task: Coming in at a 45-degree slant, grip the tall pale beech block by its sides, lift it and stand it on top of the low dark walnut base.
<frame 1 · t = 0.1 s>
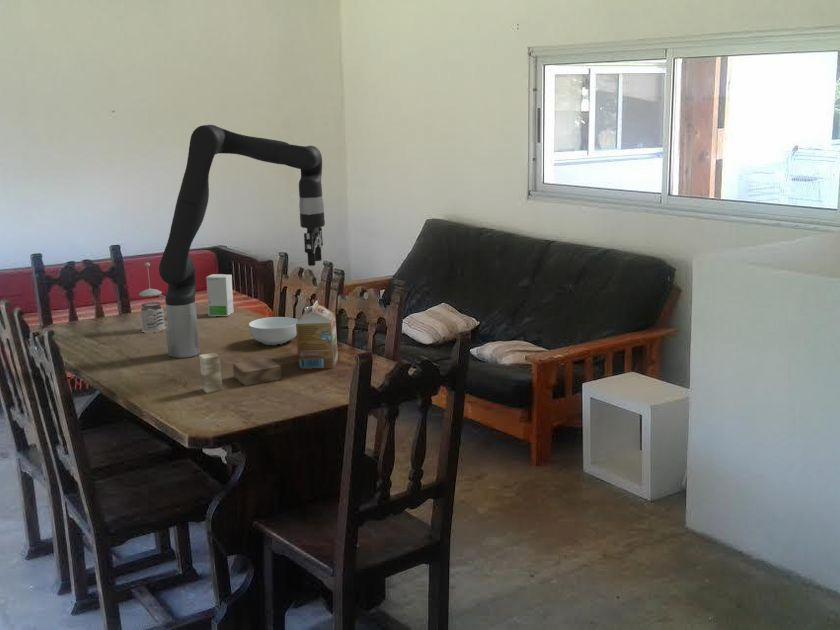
hand: (315, 263, 294), 29 cm above the table, tool pointing down, fingers open, 8 cm apart
skincare box: (221, 315, 363), on the table
beech block: (212, 389, 266), on the table
walnut base: (257, 378, 276), on the table
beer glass: (317, 354, 300), on the table
french press: (156, 330, 342), on the table
cereal bowl: (275, 343, 317), on the table
milk carton: (318, 364, 288), on the table
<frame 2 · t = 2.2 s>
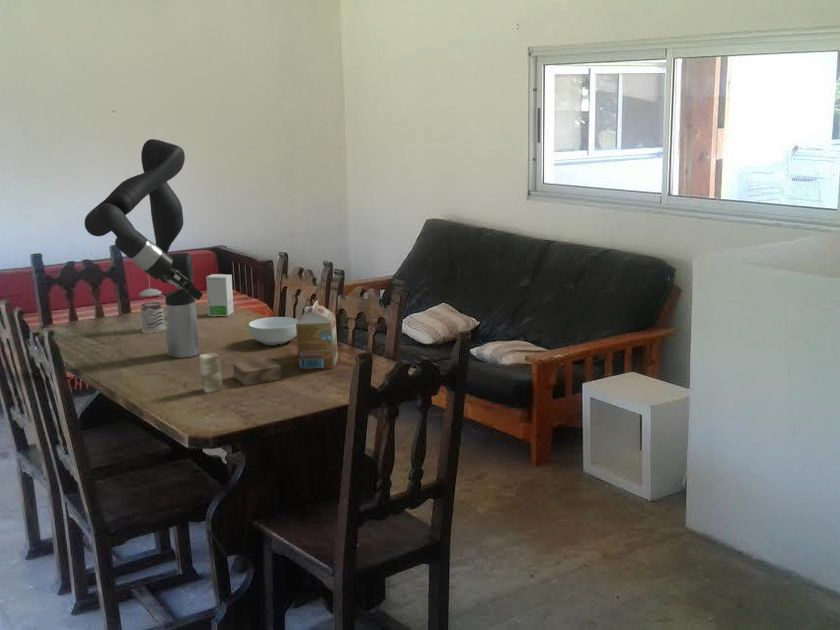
hand: (195, 295, 264), 27 cm above the table, tool tilted 45°, fingers open, 8 cm apart
nothing on the table moved.
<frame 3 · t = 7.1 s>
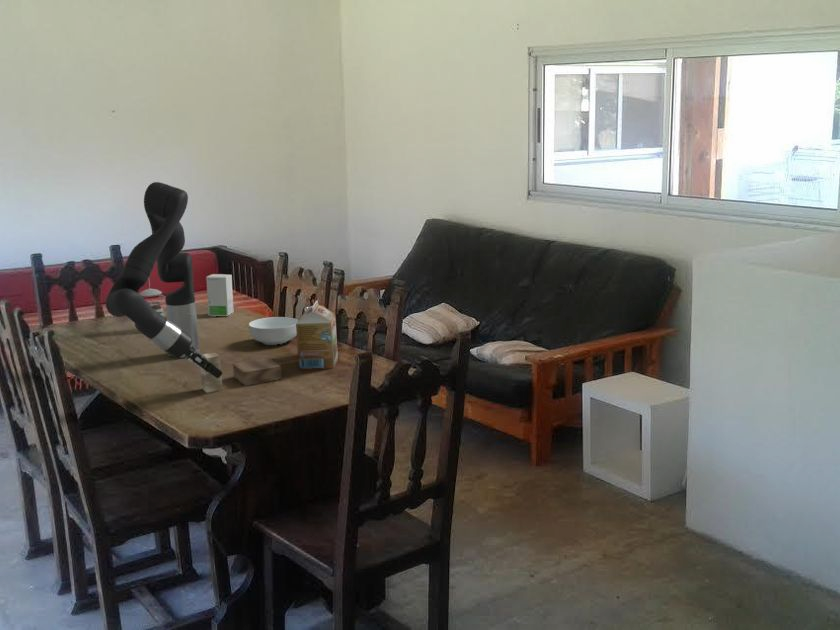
hand: (217, 373, 266), 4 cm above the table, tool tilted 45°, fingers closed on beech block, 4 cm apart
beech block: (212, 389, 266), on the table, touching gripper
everything else where it was.
when the fingers open (9 cm above the table, at t = 12.2 s): beech block stays where it is, resting on walnut base.
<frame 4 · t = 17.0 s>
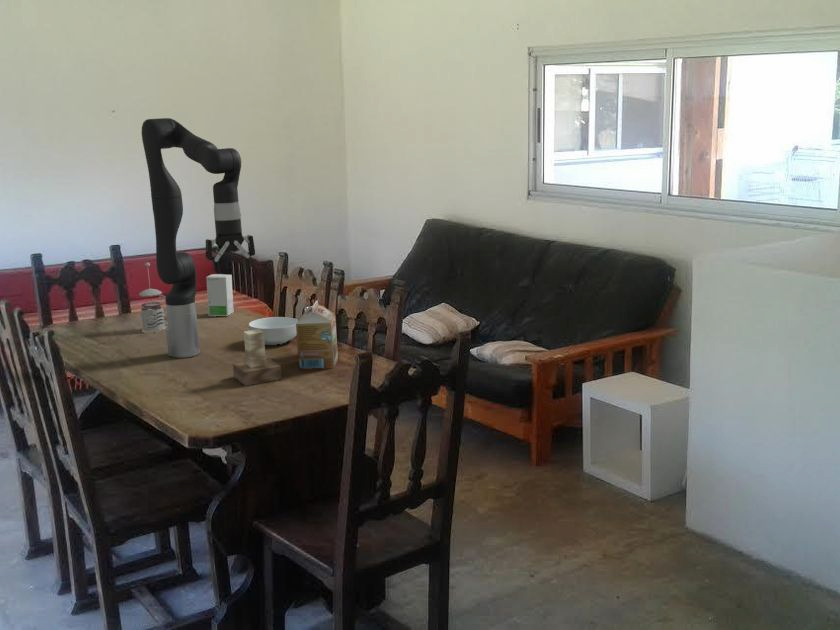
hand: (232, 272, 279), 30 cm above the table, tool pointing down, fingers open, 8 cm apart
beech block: (256, 364, 275), point 4 cm above the table, touching walnut base
everything else where it was.
at the end: beech block inside the target area on the walnut base (0.1 cm from its centre), point 4.0 cm above the walnut base's base; beech block tilted 0°; the gripper is holding nothing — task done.
